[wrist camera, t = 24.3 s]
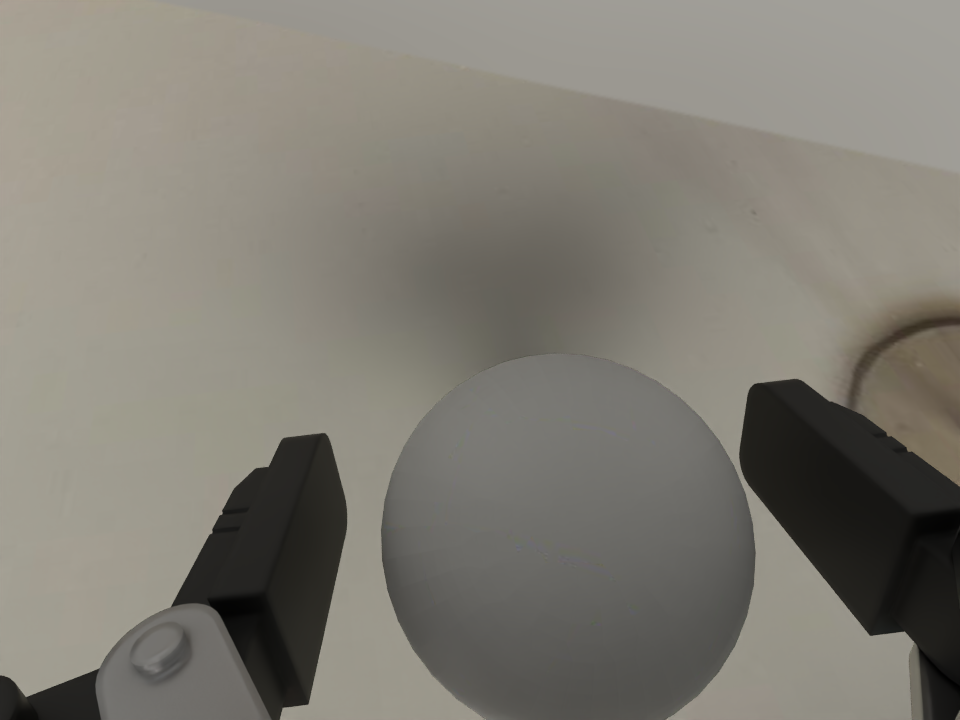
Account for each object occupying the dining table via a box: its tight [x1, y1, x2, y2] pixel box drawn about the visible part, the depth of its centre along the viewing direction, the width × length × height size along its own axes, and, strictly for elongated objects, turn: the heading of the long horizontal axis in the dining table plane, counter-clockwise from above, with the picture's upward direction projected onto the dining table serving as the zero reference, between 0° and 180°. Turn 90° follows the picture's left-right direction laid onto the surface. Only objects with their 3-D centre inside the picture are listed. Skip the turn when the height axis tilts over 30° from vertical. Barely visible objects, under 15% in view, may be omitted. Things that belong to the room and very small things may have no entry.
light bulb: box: [381, 353, 755, 720], centre depth 11 cm, size 6×6×10 cm
